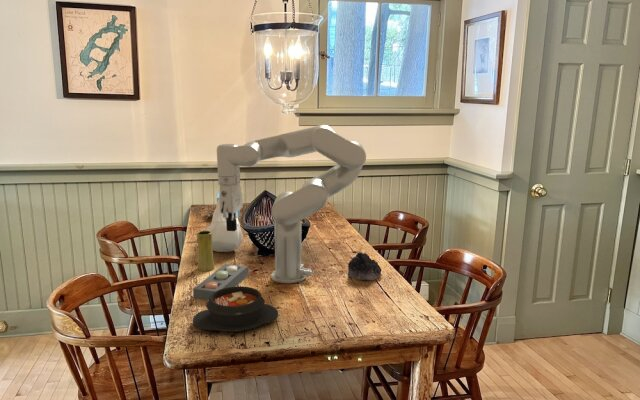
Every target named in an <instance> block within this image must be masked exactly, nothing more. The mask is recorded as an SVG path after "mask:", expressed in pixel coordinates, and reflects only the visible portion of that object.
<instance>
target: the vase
mask: <svg viewBox="0 0 640 400" xmlns="http://www.w3.org/2000/svg"><path fill="white" fill-rule="evenodd" d="M196 235H197V237H196V238H197V239H196V240H197V270H199V271H201V272H209V271H213V270H214V269H215V263H214V261H215V260H214V253H213V250H212V233H211V232H210V231H205V230H200V231H197V233H196Z"/></svg>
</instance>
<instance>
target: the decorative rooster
mask: <svg viewBox="0 0 640 400" xmlns="http://www.w3.org/2000/svg"><path fill="white" fill-rule="evenodd" d="M236 222H237V230H235V231H227V226H226V218H224V217H223V213H221V212H220V204H219V200H218V201H217V200H216V206H215V209H214V211H213V214H212V219H211V223H210V225H209V226H207V227H206V229H204V231H210V232H211V233H212V251H214V252H217V253H229V252H230V253H231V252H233V251H234V250H237V249H238V248H239V247H240V246H241V245H242V242H243V232H242V229H241V225H240V222H239V217H238V216H237V218H236Z"/></svg>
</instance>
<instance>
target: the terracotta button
mask: <svg viewBox="0 0 640 400" xmlns="http://www.w3.org/2000/svg"><path fill="white" fill-rule="evenodd" d="M217 287H218V284H217V283H216V282H208V283H206V284H205V288H208V289H216V288H217Z"/></svg>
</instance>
